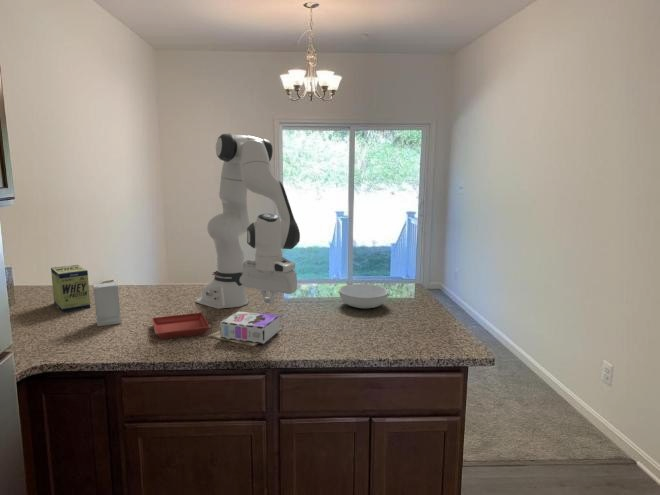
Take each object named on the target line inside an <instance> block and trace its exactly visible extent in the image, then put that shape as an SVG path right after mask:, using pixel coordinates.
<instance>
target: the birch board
mask: <svg viewBox="0 0 660 495" xmlns="http://www.w3.org/2000/svg"><path fill="white" fill-rule="evenodd" d="M282 330H283V328H282V327H280V331H282ZM209 337H210V338H213V339H218V340H222V341H227V342H232V343H237V344H240V345H246V346H251V347H255V346H257V345H258V344H259V343H254V342H247V341H240V340H232V339H225V338H220V330H218V331H216V332H214V333H211V334H210V335H209Z"/></svg>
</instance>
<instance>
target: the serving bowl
mask: <svg viewBox="0 0 660 495" xmlns="http://www.w3.org/2000/svg"><path fill="white" fill-rule="evenodd" d="M338 293H339V297H340V299H341V300H342V302H343V303H344V304H346V305H347V306H350V307H353V308H357V309H365V310H366V309H371V308H377V307H380V306H381V305H383V304H384V303H385V302H386V301H387V299H388V294H389V291H388V289H387V288H385V287H383V286H380V285H374V284H367V283H366V284H365V283H355V284H347V285H343V286H341V287H339V289H338Z"/></svg>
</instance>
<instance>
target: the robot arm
mask: <svg viewBox="0 0 660 495" xmlns="http://www.w3.org/2000/svg"><path fill="white" fill-rule="evenodd" d="M273 149H274V148H273V144H272V143H271V141H270V140H269V139H266V138H263V137H261V138H260V137H258V136H257V137H256V136H253V135H248V134H246V135H244V134H243V135H242V134H231V133H223V134H222V133H221V135H220V136H218V137H217V139H216V145H215V152H216V156H217V157H218V159H219V160H220V161H223V163H222V168H221V173H220V183H219V192H218V193H219V194H218V196H219V199H220V201H221V203H222V205H221V206H222V213H218V214H216V215H214V216H213V217H212V218H211V219H210V220H209V221H208V223H207V228H206V230H207V232H208V234H209V236H210V238H212V240H213V243H214V246H215V247H214V248H215V250H216V251H215V252H216V259H217V260H216V263H217V265H216V266H217V268H216V271H214V272H212V276H214V278H213V279H212V280H211V281H210V282H208V283H207V284H206V285H204V287H202V291H201V296H200V297H198V298H196V299H195V300H196V301H195V303H196V304H197V303H198V304H200V305H203V306H207V307H210V308H214V309H225V308H226V309H227V308H239V307H244V306H245V305H247V304H249V300H248V296H247V291H246V288H248V289H253V290H260V294H261V295H262V298H263V303H265V304H271V305H272V304H274V302H275V296H277V294H278V293H280V294H288V295H292V294H294V293H296V292H297V290H298V278H297V277H298V276H297V272H296V271H295V269H296V263H294V261H291V260H289V259H287V258H285V257H283V252H282V249H283V250H292V249H294V248H295V247H296V246H297V245H298V244H299V242H300V241H301V240H300V239H301V234H300V229H299V226H298V223H297V221H296V220H295V217H294V214H293V210H292V207H291V204H290V202H289V198H288V195H287V192H286V190H285V186H284V185H283V183H282V182H281V181H280V180H279V179H277V178H276V177H275V175H274V174H273V172H272V169H271V168H272V167H271V161H272V157H273V152H274V151H273ZM248 191H250V192H251V193H254V194H257V195H260V196H264V197H266V198H267V199H269V200H271V201H272V202H274V204H275V205H276V208H277V211H278V212H277V213H278V214H279V215H276V214H273V213H262V214H259V215H258V216H257V217H256V221H255V222H252V223H251V219H250V216H249V214H248V213H249V212H248V205H247V204H248V202H247V199H248V198H247V197H248V196H247V195H248ZM245 234H246V243H247V244H248V245H249V246H250V247H251V248H252V249H255V255H254V256H255V260H246V261H245V254H244V251H243V249H242V247H241V244H240V239H239V237H241V236H243V235H245ZM268 292H269V293H270V296H269V295H268Z"/></svg>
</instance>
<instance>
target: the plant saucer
mask: <svg viewBox="0 0 660 495" xmlns="http://www.w3.org/2000/svg"><path fill="white" fill-rule="evenodd" d="M151 320H152V325H153V329H154V333H155V335H156V336H157V337H158V338H159V339H161V340H164V339H165V340H166V339H173V338H174V339H175V338H180V337H189V336H190V337H191V336H197V335H198V336H199V335H204V334H205V333H206V332H208V330H209V328H210V326H211V325H210V324H209V322H208V321H207V319H206V316H205V315H204V314H203V313H202V312H195V313H185V314H175V315H169V316H168V315H167V316H158V317H153V318H151Z"/></svg>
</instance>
